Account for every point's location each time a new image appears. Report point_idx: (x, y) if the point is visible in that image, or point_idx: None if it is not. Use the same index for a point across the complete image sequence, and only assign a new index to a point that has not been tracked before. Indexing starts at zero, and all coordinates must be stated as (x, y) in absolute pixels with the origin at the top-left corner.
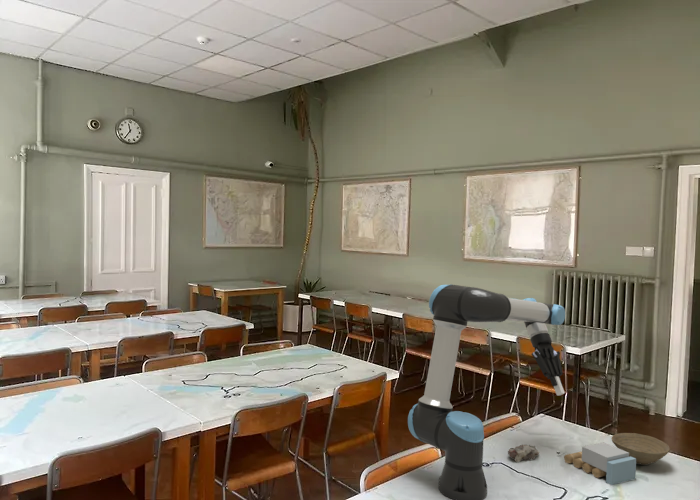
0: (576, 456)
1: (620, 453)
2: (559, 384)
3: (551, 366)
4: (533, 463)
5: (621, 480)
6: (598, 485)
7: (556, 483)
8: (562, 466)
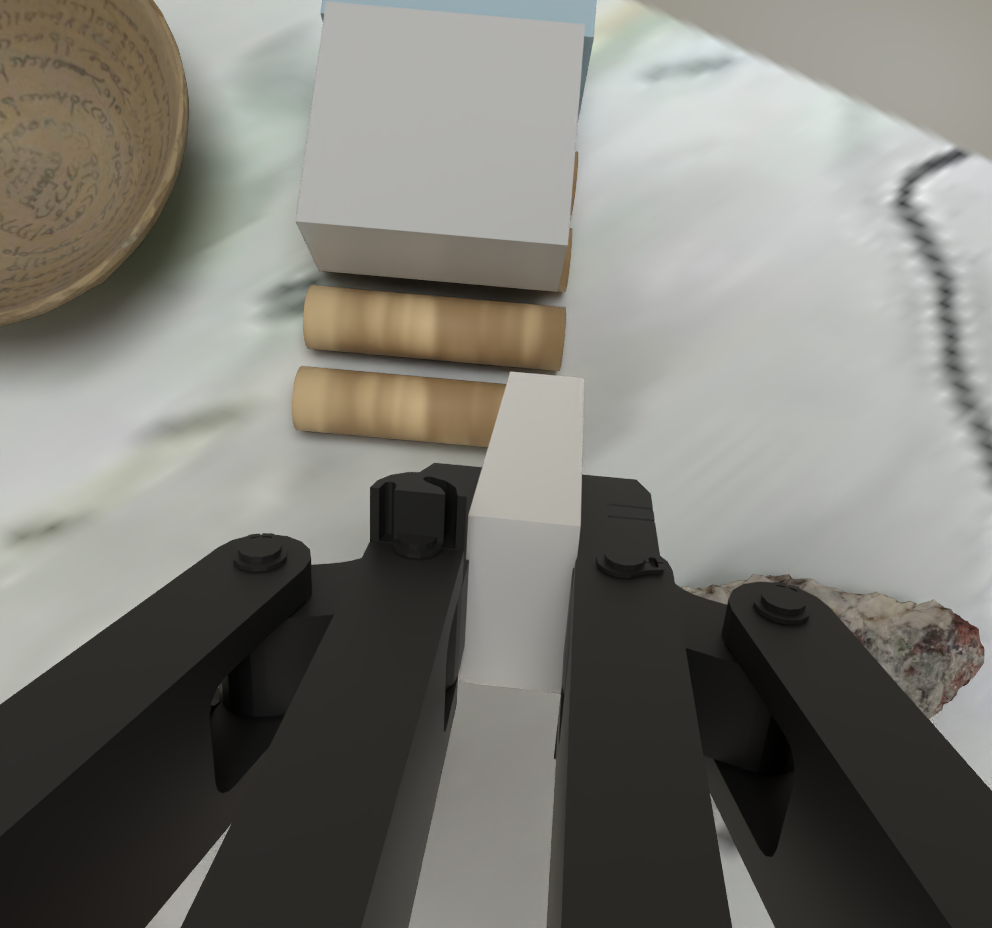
0: (488, 385)
1: (405, 23)
2: (560, 435)
3: (585, 744)
4: (796, 540)
5: None
6: (658, 126)
7: (892, 260)
8: (633, 408)
